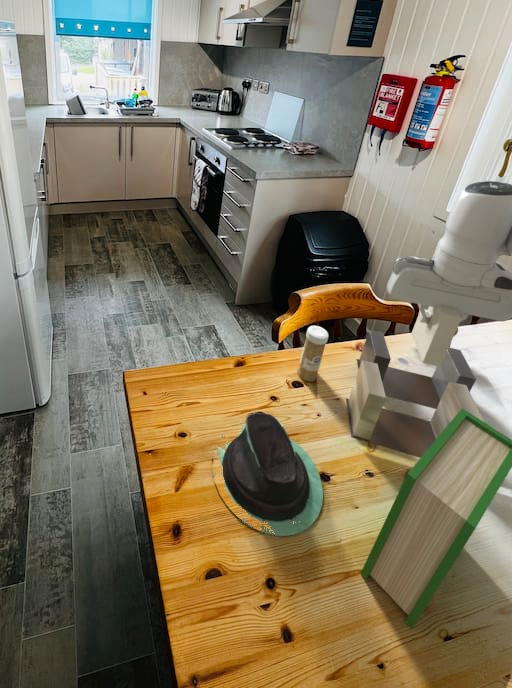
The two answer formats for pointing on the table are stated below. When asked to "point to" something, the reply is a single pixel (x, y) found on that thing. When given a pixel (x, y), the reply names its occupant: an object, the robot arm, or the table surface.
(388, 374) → the grey rack
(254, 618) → the table surface
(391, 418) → the light brown wooden rack
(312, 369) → the sprinkles bottle
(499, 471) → the hardback book
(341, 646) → the table surface
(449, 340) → the upright white block
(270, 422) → the black and teal hat
